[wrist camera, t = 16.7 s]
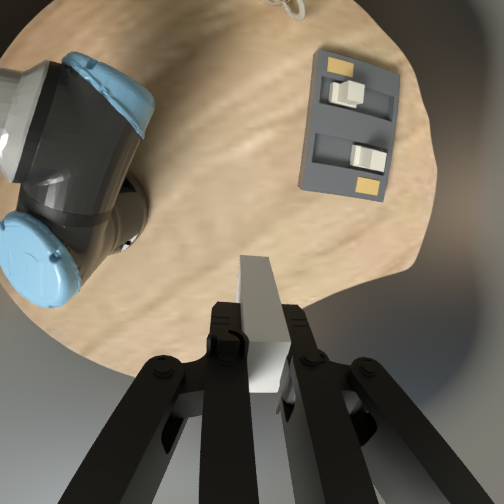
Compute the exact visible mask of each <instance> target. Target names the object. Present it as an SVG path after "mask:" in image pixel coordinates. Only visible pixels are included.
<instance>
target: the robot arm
mask: <svg viewBox="0 0 504 504" xmlns="http://www.w3.org/2000/svg"><path fill="white" fill-rule="evenodd" d="M154 110H155V100H154V97H153V95H152V94H151V93H150V91H149V90H147V89H146V88H145V87H144V86H142V85H141V84H139V83H138V82H137V81H135V80H133V79H132V78H130V77H129V76H127V75H125V74H124V73H122V72H120V71H118V70H117V69H115V68H113V67H111V66H109V65H107V64H105V63H103V62H98V61H97V60H95V59H93V58H91V57H89V56H87V55H84V54H82V53H78V52H70V53H68V54H67V55H66V56H65V57H63V58H62V64H60V63H56V62H53V61H49V60H44V61H43V62H41V63H39V64H37V65H36V66H34V67H32V68H31V69H29V70H26V71H18V70H12V69H7V68H1V67H0V170H1V172H2V173H3V175H4V177H5V178H6V180H7V182H11V183H21V186H20V191H19V196H18V202H17V208H16V210H15V211H13V212H10V213H8V214H7V215H6V216H5V218H4V219H3V220H2V221H1V222H0V265H1V268H2V270H3V272H4V274H5V275H6V277H7V278H8V280H9V282H10V283H11V284H12V286H13V287H14V288H15V289H16V290H17V291H18V292H19V293H20V294H21V295H22V296H23V297H24V298H26V299H27V300H29V301H30V302H32V303H34V304H35V305H38V306H40V307H44V308H54V307H61V306H63V305H64V304H66V303H67V302H68V301H69V300H70V299H71V298H72V297H73V296H75V295H76V294H77V293H78V292H79V290H80V288H81V287H82V285H83V284H84V283H85V282H86V280H87V279H88V278H89V277H90V276H91V274H92V273H93V272H94V271H95V270H96V268H97V267H98V266H99V265H100V264H101V263H102V261H103V260H104V259H105V258H106V257H107V256H108V255H112V254H116V253H119V252H121V251H123V250H125V249H127V248H128V247H130V246H131V245H132V244H133V243H134V242H135V241H136V239H137V238H138V237H139V236H140V234H141V233H142V231H143V229H144V227H145V224H146V220H147V213H148V206H147V199H146V195H145V192H144V190H143V188H142V186H141V184H140V182H139V181H138V180H137V178H136V177H135V176H134V175H133V174H132V173H131V172H130V171H128V169H129V166H130V164H131V162H132V159H133V157H134V155H135V152H136V150H137V148H138V146H139V143H140V141H141V140H143V139H144V137H145V130H146V128H147V126H148V123H149V121H150V119H151V117H152V115H153V112H154ZM279 385H280V387H281V397H280V400H279V403H278V406H277V409H276V414H279V412H280V411H281V416H282V423H283V429H284V435H285V442H286V448H287V454H288V460H289V467H290V473H291V479H292V485H293V492H294V498H295V504H379V503H378V500H377V496H376V494H375V490H374V487H373V484H374V485H375V487H376V489H377V490H378V492H379V493H380V495H381V497H382V498H383V500H384V501H385V503H386V504H494V502H493V501H492V500H491V498H490V497H489V496H488V494H487V493H486V492H485V491H484V489H483V488H482V487H481V485H480V484H479V483H478V482H477V480H476V479H475V478H474V476H473V475H472V474H471V472H470V471H469V470H468V469H467V467H466V466H465V465H464V464H463V462H462V461H461V460H460V459H459V457H457V455H456V454H455V452H454V451H453V450H452V449H451V447H450V446H449V445H448V444H447V442H446V441H445V440H444V439H443V438H442V436H441V435H440V434H439V433H438V431H437V430H436V429H435V428H434V427H433V425H432V424H431V423H430V422H429V420H428V419H427V418H426V417H425V416H424V415H423V414H422V412H421V411H420V410H419V408H418V407H417V406H416V405H415V404H414V403H413V401H412V400H411V399H410V398H409V397H408V395H407V394H406V393H405V392H404V391H403V390H402V388H401V387H400V386H399V385H398V384H397V383H396V381H395V380H394V379H393V378H392V377H391V376H390V374H389V373H388V372H387V371H386V370H385V369H384V367H383V366H382V365H381V364H380V363H378V362H377V361H376V360H373V359H371V358H366V357H361V358H357V359H355V360H354V361H353V362H352V364H351V366H350V365H344V364H339V363H335V362H332V361H329V358H328V356H327V355H326V354H325V353H324V352H323V351H321V350H319V349H318V348H317V345H316V342H315V340H314V337H313V334H312V331H311V329H310V327H309V323H308V321H307V318H306V315H305V312H304V311H303V310H302V309H301V308H300V307H299V306H298V305H290V304H281V302H280V298H279V294H278V290H277V287H276V283H275V279H274V275H273V272H272V268H271V264H270V261H269V257H261V256H247V255H240V259H239V270H238V280H237V291H236V303H231V302H217V303H216V304H215V305H214V306H213V308H212V313H211V324H210V333H209V335H208V337H207V353H206V354H205V355H204V356H203V357H202V358H200V359H198V360H196V361H193V362H188V363H181V362H180V361H179V360H178V359H176V358H174V357H172V356H167V355H160V356H155V357H153V358H151V359H149V360H148V361H147V362H146V363H145V364H144V366H143V367H142V369H141V370H140V372H139V373H138V375H137V376H136V378H135V380H134V381H133V383H132V384H131V386H130V387H129V389H128V390H127V392H126V393H125V395H124V396H123V398H122V400H121V401H120V403H119V404H118V406H117V407H116V409H115V411H114V412H113V413H112V415H111V417H110V418H109V420H108V421H107V423H106V424H105V426H104V428H103V429H102V431H101V433H100V434H99V436H98V437H97V439H96V441H95V442H94V444H93V445H92V447H91V448H90V450H89V452H88V453H87V455H86V457H85V458H84V460H83V462H82V463H81V465H80V467H79V468H78V470H77V472H76V473H75V475H74V477H73V478H72V480H71V482H70V483H69V485H68V487H67V489H66V490H65V492H64V493H63V495H62V497H61V499H60V500H59V502H58V504H152V502H153V499H154V497H155V495H156V492H157V490H158V488H159V485H160V483H161V481H162V478H163V476H164V474H165V471H166V469H167V467H168V464H169V462H170V460H171V457H172V455H173V453H174V450H175V448H176V446H177V443H178V441H179V439H180V436H181V434H182V431H183V429H184V427H185V424H186V422H187V420H188V418H189V417H195V416H199V415H202V429H201V430H202V431H201V450H200V475H199V504H259V497H258V486H257V476H256V465H255V454H254V442H253V430H252V418H251V406H250V393H249V392H278V389H279ZM372 483H373V484H372Z"/></svg>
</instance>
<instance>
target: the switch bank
mask: <svg viewBox="0 0 504 504" xmlns="http://www.w3.org/2000/svg"><path fill="white" fill-rule="evenodd" d="M348 80H350V81H353V82H357V83H360V84H363V85H365V88H364V99H363V103H362V104H357V105H356V108H353V109H352V108H348V107H344V106H340V105H336V104H331V103H328V100H329V91H330V84H331V83H333V82H335V83H339V84H341V83H344V82H346V81H348ZM399 85H400V75H399V74H396V73H394V72H391V71H388V70H386V69H383V68H380V67H378V66H375V65H372V64H369V63H366V62H363V61H360V60H356V59H353V58H350V57H346V56H343V55H339V54H335V53H331V52H327V51H323V50H318V51H317V52H316V53H315V54H313V65H312V75H311V85H310V94H309V103H308V112H307V120H306V129H305V137H304V144H303V152H302V160H301V167H300V174H299V181H298V187H299V188H300V189H301V190H305V191H313V192H320V193H328V194H335V195H341V196H348V197H354V198H360V199H367V200H372V201H378V202H383V200H384V195H385V190H386V185H387V180H388V174H389V169H390V163H391V157H392V150H393V143H394V136H395V128H396V119H397V110H398V99H399ZM352 145H357V146H361V147H366V148H370V149H374V150H378V151H380V152H384V153H387V155H386V161H385V167H384V172H381V171H377V170H372V169H367V168H363V167H358V166H353V165H350V157H351V151H352Z"/></svg>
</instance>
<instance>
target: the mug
mask: <svg viewBox="0 0 504 504" xmlns="http://www.w3.org/2000/svg"><path fill="white" fill-rule="evenodd" d="M262 1H263V2H265V3H267V4H270V5H283V6H284V8H285V10H286V12H287V14H288V15H289V16H290V17H292V18H293V19H295V20H297V21H302V20H303V19H304V18H305V15H306V9H305V4H304V1H303V0H297V2H298V6H299V13H298V14H295V13H293V12H292V10H291V9H290V8H289V6H288V5H287V3H288V2H290V1H291V0H262Z"/></svg>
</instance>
